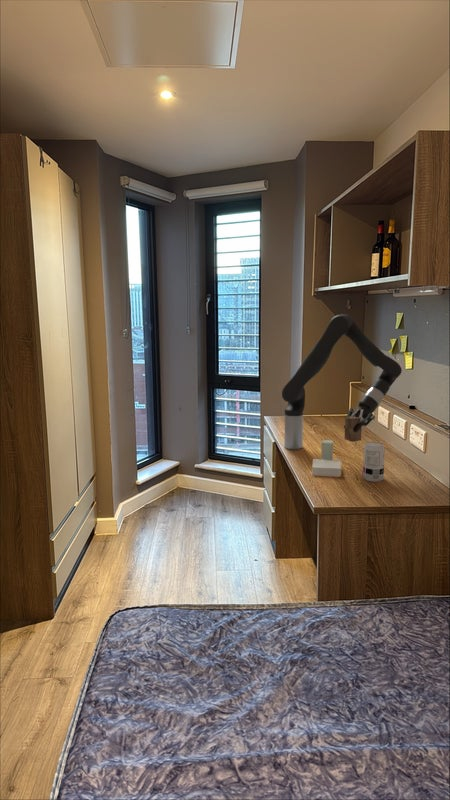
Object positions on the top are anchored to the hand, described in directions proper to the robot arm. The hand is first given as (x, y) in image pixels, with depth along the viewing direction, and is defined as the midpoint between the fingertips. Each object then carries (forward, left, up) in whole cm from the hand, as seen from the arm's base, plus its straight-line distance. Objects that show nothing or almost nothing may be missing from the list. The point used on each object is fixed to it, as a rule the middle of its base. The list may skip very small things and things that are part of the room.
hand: (349, 429), depth 219 cm
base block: (+5, -10, -18) cm, 21 cm away
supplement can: (+12, +9, -18) cm, 24 cm away
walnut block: (-1, +1, -5) cm, 5 cm away
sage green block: (-8, -10, -18) cm, 22 cm away
